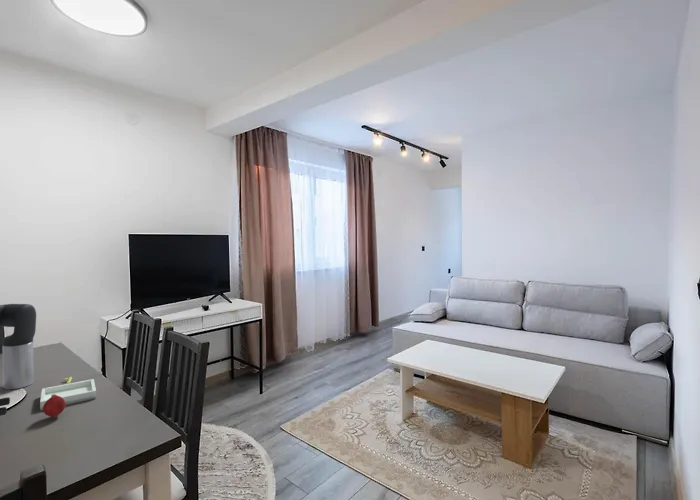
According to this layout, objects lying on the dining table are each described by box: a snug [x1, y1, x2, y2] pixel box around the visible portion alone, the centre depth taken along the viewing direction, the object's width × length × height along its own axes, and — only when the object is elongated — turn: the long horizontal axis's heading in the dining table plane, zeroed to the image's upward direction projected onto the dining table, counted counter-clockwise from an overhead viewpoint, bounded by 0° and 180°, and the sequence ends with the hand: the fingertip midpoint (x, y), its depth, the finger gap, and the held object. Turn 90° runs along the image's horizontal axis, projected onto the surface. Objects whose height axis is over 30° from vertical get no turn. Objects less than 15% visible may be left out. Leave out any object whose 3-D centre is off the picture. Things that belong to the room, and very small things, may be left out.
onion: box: [42, 394, 67, 419], centre depth 121 cm, size 6×6×8 cm
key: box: [63, 376, 73, 384], centre depth 146 cm, size 7×12×2 cm, turn 48°
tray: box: [39, 378, 97, 411], centre depth 136 cm, size 14×16×3 cm
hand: (8, 405), depth 114 cm, fingers open, 8 cm apart
